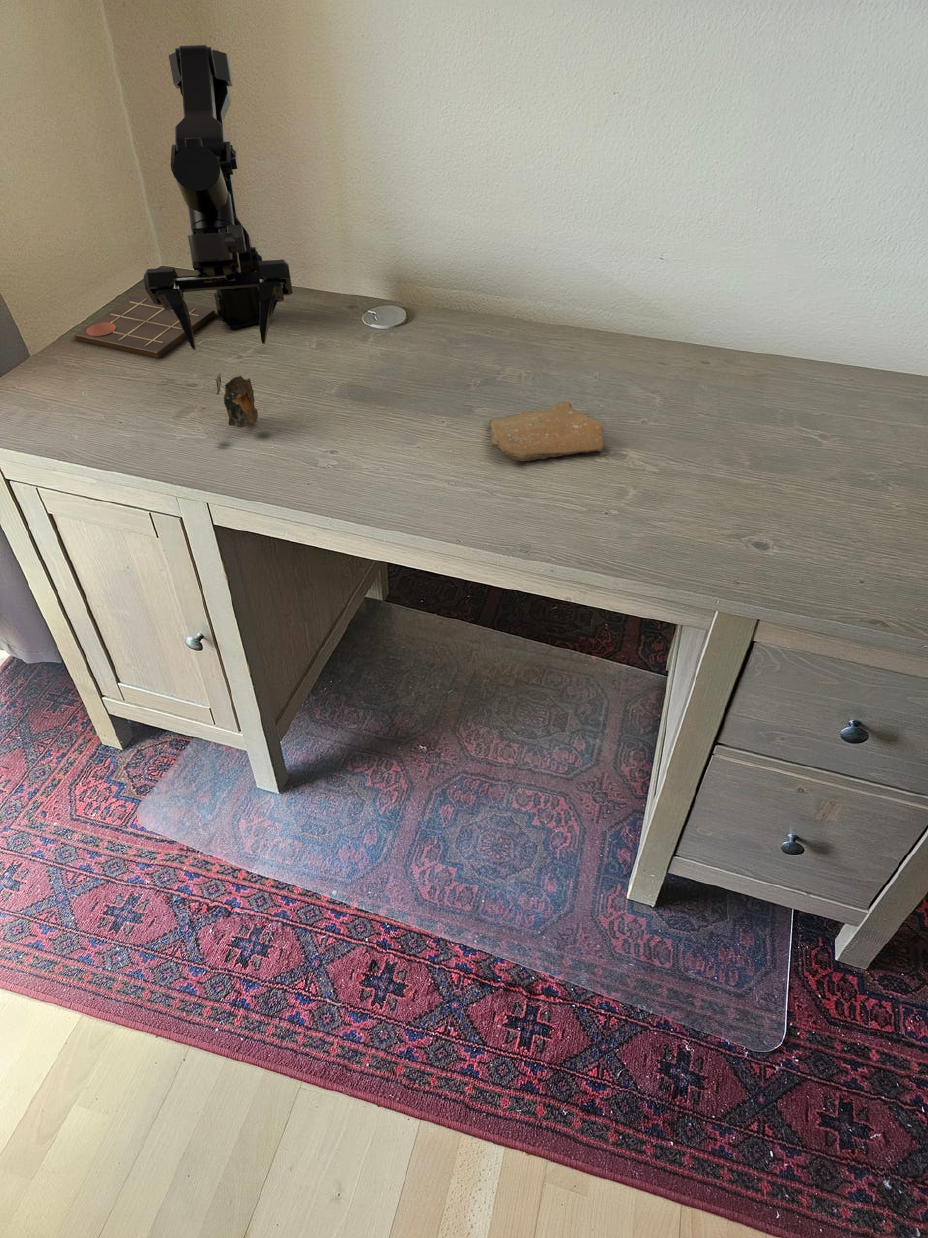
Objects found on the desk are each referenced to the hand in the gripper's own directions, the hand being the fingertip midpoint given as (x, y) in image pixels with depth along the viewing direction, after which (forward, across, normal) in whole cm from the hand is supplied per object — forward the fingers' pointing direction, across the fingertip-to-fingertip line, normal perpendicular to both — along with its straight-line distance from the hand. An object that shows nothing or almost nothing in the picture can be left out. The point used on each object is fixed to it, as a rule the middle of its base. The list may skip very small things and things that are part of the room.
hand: (228, 345), depth 112 cm
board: (-14, -16, +29) cm, 36 cm away
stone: (+17, +41, -2) cm, 45 cm away
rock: (+11, 0, +5) cm, 12 cm away
